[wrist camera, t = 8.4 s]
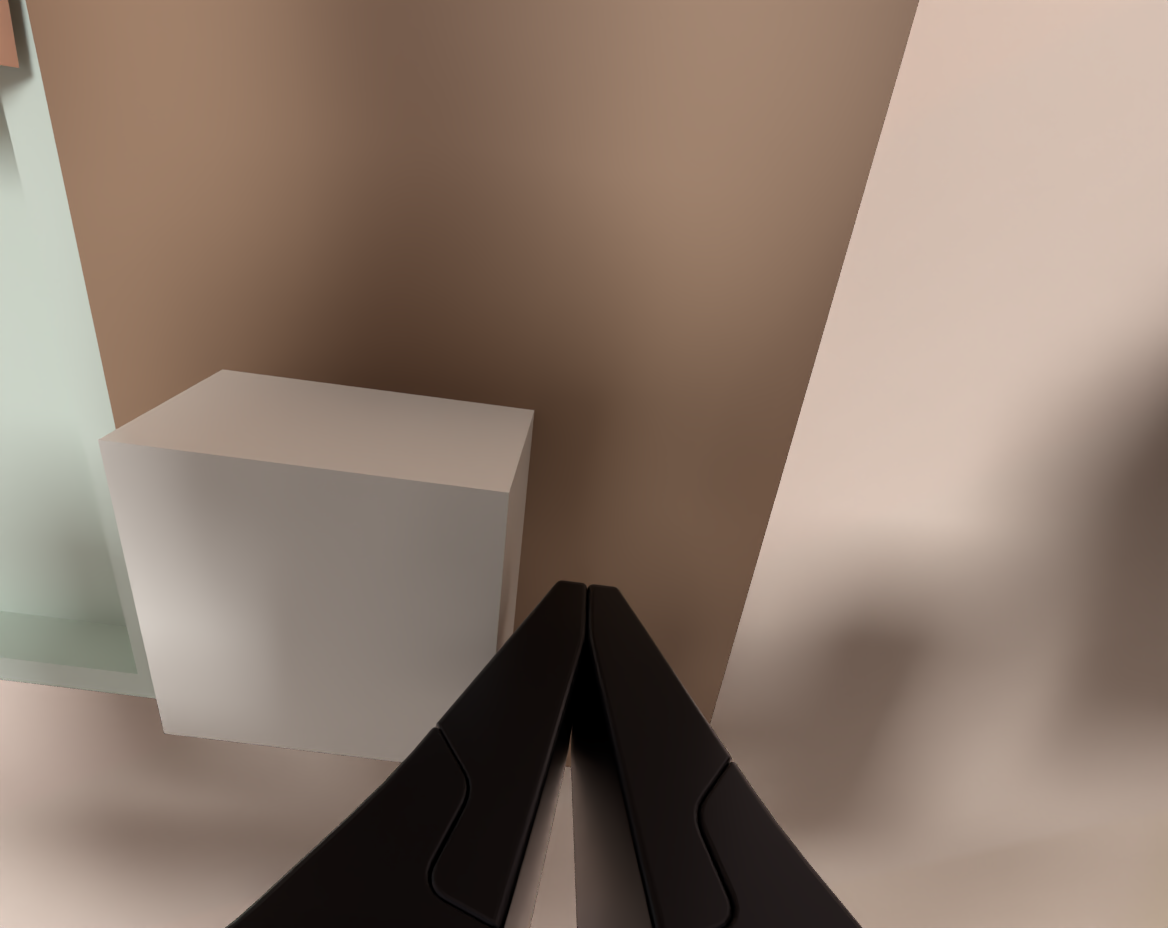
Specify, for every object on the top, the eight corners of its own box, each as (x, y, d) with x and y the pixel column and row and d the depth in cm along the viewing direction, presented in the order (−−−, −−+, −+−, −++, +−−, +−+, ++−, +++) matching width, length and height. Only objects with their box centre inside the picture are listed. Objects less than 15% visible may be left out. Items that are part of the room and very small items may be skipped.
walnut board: (1117, -974, 6) (1352, -1497, 4) (683, 702, 14) (693, 782, 13) (-39, -1167, 6) (-353, -1800, 4) (231, 646, 14) (176, 718, 12)
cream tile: (534, 410, 9) (509, 492, 7) (511, 648, 11) (486, 773, 9) (222, 369, 9) (97, 439, 7) (254, 616, 11) (163, 733, 9)
